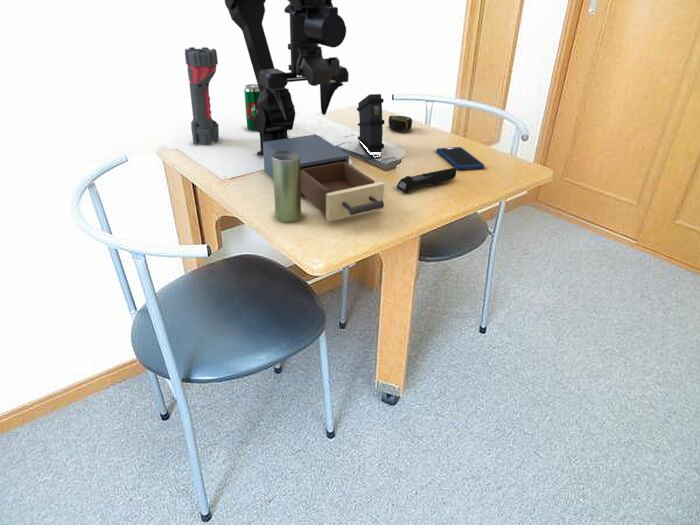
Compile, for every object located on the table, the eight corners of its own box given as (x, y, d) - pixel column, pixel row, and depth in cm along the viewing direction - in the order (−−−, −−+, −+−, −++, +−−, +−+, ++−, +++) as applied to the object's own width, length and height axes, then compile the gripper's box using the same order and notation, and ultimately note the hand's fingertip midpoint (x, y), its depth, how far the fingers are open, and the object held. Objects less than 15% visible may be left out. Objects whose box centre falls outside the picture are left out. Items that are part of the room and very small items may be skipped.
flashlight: (228, 136, 134) (219, 46, 121) (221, 146, 127) (210, 52, 115) (200, 135, 134) (188, 45, 121) (191, 144, 127) (178, 50, 115)
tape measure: (410, 127, 147) (411, 114, 145) (411, 134, 141) (413, 121, 139) (388, 126, 147) (388, 113, 145) (388, 133, 141) (389, 120, 139)
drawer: (394, 216, 95) (396, 191, 92) (339, 230, 89) (340, 204, 86) (346, 182, 108) (346, 159, 105) (295, 192, 102) (294, 168, 100)
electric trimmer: (458, 183, 113) (461, 170, 111) (405, 194, 106) (406, 181, 104) (448, 177, 115) (450, 164, 114) (395, 188, 108) (396, 175, 107)
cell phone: (460, 149, 131) (460, 146, 131) (485, 168, 120) (485, 165, 120) (435, 150, 130) (435, 148, 129) (458, 170, 118) (458, 167, 118)
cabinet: (348, 185, 109) (349, 155, 105) (293, 197, 103) (292, 165, 99) (315, 162, 120) (315, 134, 116) (264, 171, 114) (262, 142, 110)
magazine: (372, 157, 120) (368, 94, 118) (359, 161, 132) (354, 104, 130) (387, 156, 121) (383, 93, 118) (372, 160, 133) (368, 104, 131)
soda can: (256, 125, 143) (253, 82, 137) (268, 128, 141) (266, 85, 134) (243, 129, 140) (239, 85, 133) (256, 132, 137) (253, 89, 131)
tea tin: (269, 215, 95) (265, 154, 88) (290, 208, 98) (288, 148, 91) (285, 225, 92) (283, 162, 85) (307, 217, 95) (306, 156, 88)
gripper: (278, 48, 89) (281, 132, 97) (364, 44, 97) (360, 121, 106) (255, 39, 97) (260, 118, 105) (336, 36, 105) (335, 108, 114)
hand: (305, 116), depth 107 cm, fingers open, 9 cm apart
